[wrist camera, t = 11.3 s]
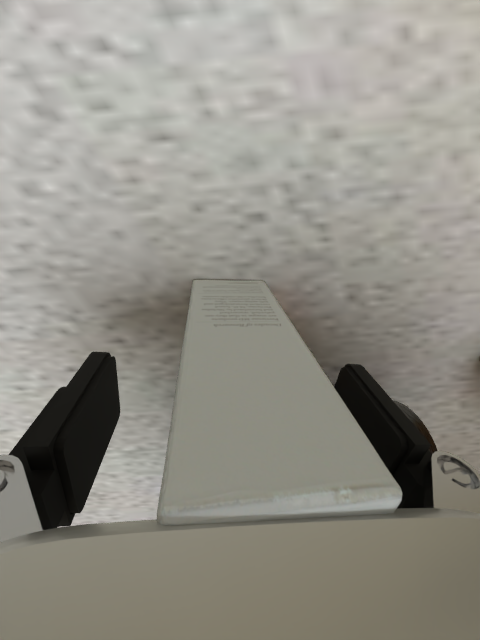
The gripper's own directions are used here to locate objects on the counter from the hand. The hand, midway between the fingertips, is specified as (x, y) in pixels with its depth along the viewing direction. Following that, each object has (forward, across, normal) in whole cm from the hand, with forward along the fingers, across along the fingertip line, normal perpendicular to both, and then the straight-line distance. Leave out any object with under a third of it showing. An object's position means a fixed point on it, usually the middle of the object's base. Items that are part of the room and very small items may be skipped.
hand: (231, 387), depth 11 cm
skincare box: (+6, 0, 0) cm, 6 cm away
